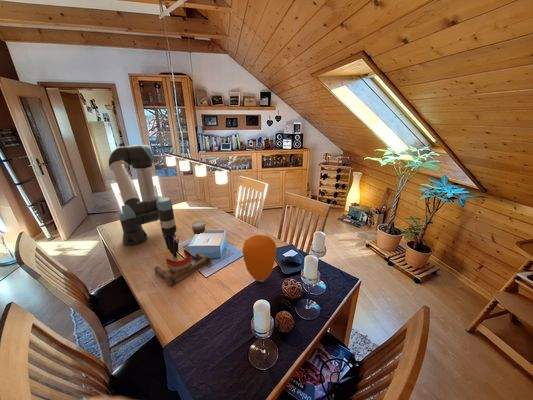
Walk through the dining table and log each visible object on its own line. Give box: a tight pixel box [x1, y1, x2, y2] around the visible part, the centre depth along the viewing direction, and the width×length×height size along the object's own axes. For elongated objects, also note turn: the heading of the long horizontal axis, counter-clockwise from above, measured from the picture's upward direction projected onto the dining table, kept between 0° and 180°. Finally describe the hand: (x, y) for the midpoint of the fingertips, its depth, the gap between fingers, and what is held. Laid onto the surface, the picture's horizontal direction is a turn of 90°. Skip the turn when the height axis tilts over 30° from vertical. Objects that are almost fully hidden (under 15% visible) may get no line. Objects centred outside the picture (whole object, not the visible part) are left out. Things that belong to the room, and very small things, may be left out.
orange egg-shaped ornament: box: [242, 234, 278, 283], centre depth 115 cm, size 17×17×25 cm
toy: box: [165, 248, 193, 275], centre depth 127 cm, size 12×10×8 cm
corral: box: [153, 253, 212, 288], centre depth 128 cm, size 17×26×4 cm, turn 143°
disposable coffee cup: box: [190, 220, 206, 235], centre depth 157 cm, size 10×10×12 cm
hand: (175, 261), depth 133 cm, fingers closed
